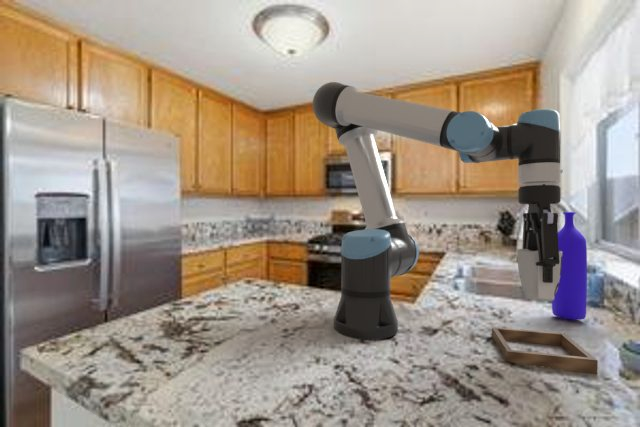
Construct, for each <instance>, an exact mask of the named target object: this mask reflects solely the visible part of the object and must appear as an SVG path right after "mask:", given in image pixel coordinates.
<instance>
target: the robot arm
mask: <svg viewBox="0 0 640 427" xmlns="http://www.w3.org/2000/svg"><path fill="white" fill-rule="evenodd" d="M312 111H313V114H314V116H315V118H316V119H317V120H318V121H319V123H321V124H322V125H324V126H327V127H328V128H331V129H334V131H335V135H336V137H337V141H338V144H339V145H341V146H343V147H344V148H345V150H346V154H347V158H348V162H349V165H350V169H351V173H352V175H353V180H354V184H355V187H356V191H357V195H358V198H359V203H360V205H361V206H360V207H361V210H362V213H363V217H364V220H365V224H366V226H365V228H364V229H361V230H359V229H358V230H353V231H348V232H346V233H344V235H343V236H342V238H341V248H340V256H341V257H340V260H341V263H340V264H341V265H340V266H341V268H340V271H341V273H340V274H341V276H340V278H341V279H340V282H341V289H340V291H341V292H340V293H341V295H340V297H339V301H338V302H339V303H338V305H337V308H336V311H335V315H334V317H333V329H334V331H336V332H337V333H338V334H340V335H342V336H345V337H348V338H351V339H352V338H353V339H360V340H381V339H387V338H390V337H393V336H395V335H396V334H397V333H399V332H398V331H399V321H398V318H397V315H396V314H397V313H396V311H395V309H394V304H393V302H392V301H393V300H392V299H391V279H393V278H395V277H400V276H403V275H405V274H407V273H408V272H409V271H411V270H412V269H414V267H415V266H416V264H417V263H418V259H419V255H420V252H419V251H420V250H419V245H418V243H417V241H416V239H415V238H414V237H413V236H411V235H410V234H409V233H408V230H407V227H406V223H405V221H404V220H402V219H400V218H398V216H397V212H396V208H395V205H394V202H393V198H392V195H391V192H390V188H389V184H388V182H387V177H386V173H385V171H384V167H383V164H382V161H381V156H380V154H379V150H378V146H377V143H376V140H375V137H376V135H377V134H378V131H380V132H383V133H387V134H391V135H395V136H399V137H403V138H407V139H410V140H414V141H417V142H418V141H419V142H422V143H425V144H429V145H433V146H437V147H441V148H444V149H447V150H452V151H456V152H458V156H459V158H460V161H462V163H465V164H469V163H470V164H472V163H473V164H480V163H485V162H497V161H507V160H518V163H517V164H518V166H517V176H518V178H517V184H518V185H520V186H519V188H518V192H517V193H518V195H517V197H518V198H517V199H518V203H519V204H520V205H528V208H527V212H523V214H522V218H523V220H522V221H523V225H522V226H523V230H522V248H521V249H528V250H530V251H537V250H538V253H539V262H537V263H535V264H536V266H538V298H541V299H554V266H555V265H556V264H559V262H560V261H559V246H558V232H559V230H558V221H559V220H558V219H559V215H558V212H552V208H551V205H557V204H558V205H559V204H560V203H561V187H560V185H557V184H559V183H560V182H561V174H562V173H563V172H564V169H562V168H561V137H562V136H561V135H562V134H561V133H562V131H561V120H560V119H561V118H560V113H559V112H558V111H557V110H555V109H551V108H542V109H541V108H538V109H533V110H530V111H524V112H523V113H521V114H520V115H518V119H517V123H513V124H509V125H502V126H501V125H500V126H495V125H494V124H493V123H492V121H491V120H490V118H489V117H487V116H486V115H484V114H482V113H480V112H477V111H474V110H467V111H456V110H452V109H451V110H450V109H447V108H442V107H441V108H440V107H435V106H431V105H430V106H429V105H426V104H421V103H416V102H411V101H405V100H401V99H395V98H390V97H384V96H381V95H376V94H375V95H374V94H369V93H365V92H361V91H359V90H358V89H357V88H356V87H355V86H352V85H347V84H343V83H341V82H336V81H332V82H327V83H324V84H323V85H322V86H320V87H319V88H318V89H317V90H316V92H315V93H314V96H313V99H312Z"/></svg>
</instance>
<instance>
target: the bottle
mask: <svg viewBox="0 0 640 427" xmlns="http://www.w3.org/2000/svg"><path fill="white" fill-rule="evenodd" d="M575 214H576V211H563V212H562V215H564V224H563V227H562V228H561V229H559V230H558V246H559V251H562V266H561V275H560V280H559V286H558V289H557V292H556V295H555V298H554V300H553V301H551V310H552V311H551V312H552V314H553V316H556V317H558V318H563V319H567V320H576V321H580V320H581V321H582V320H585V319H586V316H587V304H588V303H587V302H588V300H587V297H588V296H587V295H588V292H587V291H588V287H587V286H588V251H587V250H588V249H587V241H586V237H584V235H583V234H582V233H581V231H579V230H578V229H577V228H576V227H575V224H574V215H575Z"/></svg>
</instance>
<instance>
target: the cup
mask: <svg viewBox="0 0 640 427" xmlns="http://www.w3.org/2000/svg"><path fill="white" fill-rule="evenodd" d="M516 255H517V267H518V268H517V269H518V274H519V279H520V286H521V288H522V290H523V294H524V296H525V298H527V299H528V300H534V301H539V302H540V301H541V302H552V301H553V300H554V299H541V298H538V266H536V264H535V263H537V262H539V253H538V250H537V251H530V250H528V249H522V248H520V249H519V248H518V249H517V250H516ZM559 261H560V262H559V264H556V265H555V266H554V298H555V295H556V292H557V289H558V286H559V280H560V275H561V266H562V251H559Z"/></svg>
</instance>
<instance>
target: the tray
mask: <svg viewBox="0 0 640 427" xmlns="http://www.w3.org/2000/svg"><path fill="white" fill-rule="evenodd" d="M491 337H492V339H493V341H494V342H495V344H496V345H497V347H498V349H499V350H500V352H501V353H503V354H502V356H504V359H505V360H506V361H509V362H508V363H514V362H515V364H520V363H523V364H522V365H527V364H529V366H534V365H536V366H535V367H540V366H544V367H543V368H547V367H550V368H549V369H554V368H556V369H555V370H560V369H562V371H567V370H569V371H568V372H578V373H586V374H587V373H588V374H596V375H598V360H597V358H595V356H593V355H592V354H591V353H589V352H588V351H587V350H586V349H584V348H583V347H582V346H581V345H580V344H578V343H577V342H576V341H575V340H573V339H572V338H571V337H569V336H568V335H567V334H566V332H553V331H542V330H529V329H517V328H506V327H494V326H492V327H491ZM507 340H508V341H514V342H522V343H530V344H540V345H541V344H542V345H553V346H561V347H562V348H563V349H564V350H565V351H566V352H568V353H569V354H570V355H567V354H556V353H549V352H548V353H546V352H536V351H535V352H534V351H528V350H527V351H526V350H515V349H512V348H511V346H510V345H509V344H508V342H507Z"/></svg>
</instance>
